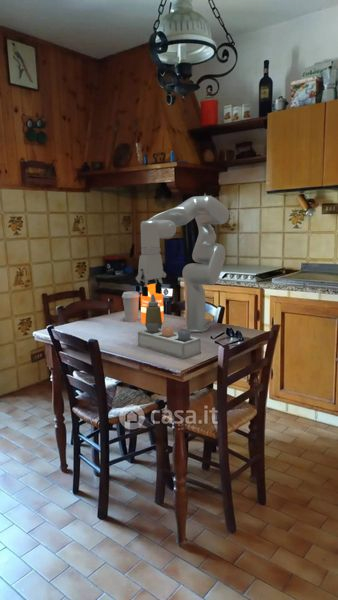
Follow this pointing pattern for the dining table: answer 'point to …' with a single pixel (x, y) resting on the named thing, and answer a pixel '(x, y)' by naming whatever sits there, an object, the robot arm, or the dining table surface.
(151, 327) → the knob
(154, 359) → the dining table surface
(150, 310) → the squeeze bottle
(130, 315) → the coffee cup
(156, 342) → the grey rectangular box
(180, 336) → the knob
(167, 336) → the middle knob
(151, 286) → the orange juice
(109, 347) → the dining table surface
